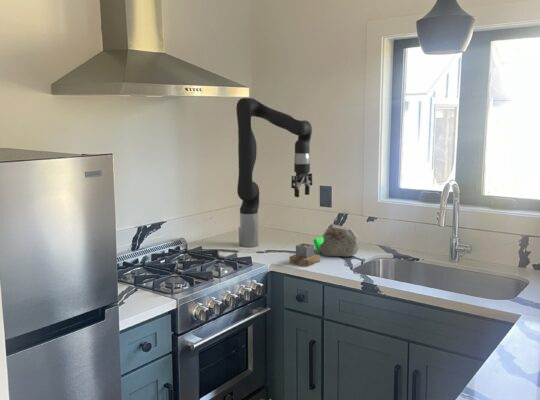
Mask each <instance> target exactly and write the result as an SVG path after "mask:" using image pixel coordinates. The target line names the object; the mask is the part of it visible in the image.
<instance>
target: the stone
mask: <svg viewBox="0 0 540 400" xmlns="http://www.w3.org/2000/svg"><path fill="white" fill-rule="evenodd" d="M322 237H323V238H324V242H323V243H322V244H320V245H319V247H320V250H321V252H322V253H321V254H322V255H323V256H325V257H345V258H347V257H353V256H354V255H355V254H357V253H358V251H359V248H360V239H359V236H358V234H357V233H356V232H355V231H354V230H353V229H352V228H351V227H347V226H342V225H339V224H338V225H337V224H334V223H333V224H331V226H330V227H328V228H326V229H325V231H324V233H323V234H322Z"/></svg>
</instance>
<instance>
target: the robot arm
mask: <svg viewBox="0 0 540 400" xmlns="http://www.w3.org/2000/svg"><path fill="white" fill-rule="evenodd" d="M252 117H255V118H260V119H264V120H266V121H268V122H269V123H270V124H272V125H274V126H276V127H278V128H280V129H283V130H286V131H288V132H290V133H291V134H293V135H296V136H297V140H296V141H295V143H294V157H293V159H294V160H293V164H294V165H293V166H294V169H293V170H294V173H295V175H291V186H290V187H291V189H294V192H293V193H294V198H299V197H300V187H301V186H302V185H303V186H304V195H306V196H307V195H308V196H309V195H310V188H311V186H313V173H310V172H311V156H310V142H311V138H312V135H313V134H312V133H313V129H312V128H313V127H312V124H311V123H310V121H308V120H299V119H297V118H294V117H293V116H292V115H289V114H287V113H284V112H281V111H280V110H275V109H273V108H270V107H268V106H266V105H265V104H263V103H261V102H260V101H259V100H256V99H255V98H253V97H242V98H240V99H238V101H237V103H236V119H237V135H238V136H237V137H238V139H237V140H238V144H237V146H238V147H237V148H238V149H237V151H238V152H237V153H238V177H237V178H238V179H237V188H236V189H237V196H238V198H239V199H240V200H242V203H241V206H240V207H239V227H238V244H239V246H240V247H244V248H254V247H259V213H258V212H259V211H258V210H259V206H260V188H259V185H258V184H257V183H256V182H255V181H253V173H254V167H255V164H256V160H257V141H256V140H257V139H256V138H255V135H254V134H255V133H254V131H253V128H252Z"/></svg>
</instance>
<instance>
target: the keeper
mask: <svg viewBox="0 0 540 400" xmlns="http://www.w3.org/2000/svg"><path fill="white" fill-rule="evenodd" d="M303 246H305V247H307V245H303ZM320 262H321V255H319V254H315V253H314V256H312V257H309V258H302V257H297V256H296V254H293V255H291V256H289V264H293V265H298V266H302V267H307V266H308V267H311V266H313V265H315V263H316V264H317V263H320ZM310 265H311V266H310Z"/></svg>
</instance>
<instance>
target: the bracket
mask: <svg viewBox="0 0 540 400" xmlns="http://www.w3.org/2000/svg"><path fill="white" fill-rule="evenodd" d="M312 240H313V243H314V244H313V245H314V248H315V249H316V251H317V252H318V253H321V254H322V252H321V250H320V247H319V245H320V244H322V243H323V242H324V238H323V236H322V237H316V238H314V239H312Z"/></svg>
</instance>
